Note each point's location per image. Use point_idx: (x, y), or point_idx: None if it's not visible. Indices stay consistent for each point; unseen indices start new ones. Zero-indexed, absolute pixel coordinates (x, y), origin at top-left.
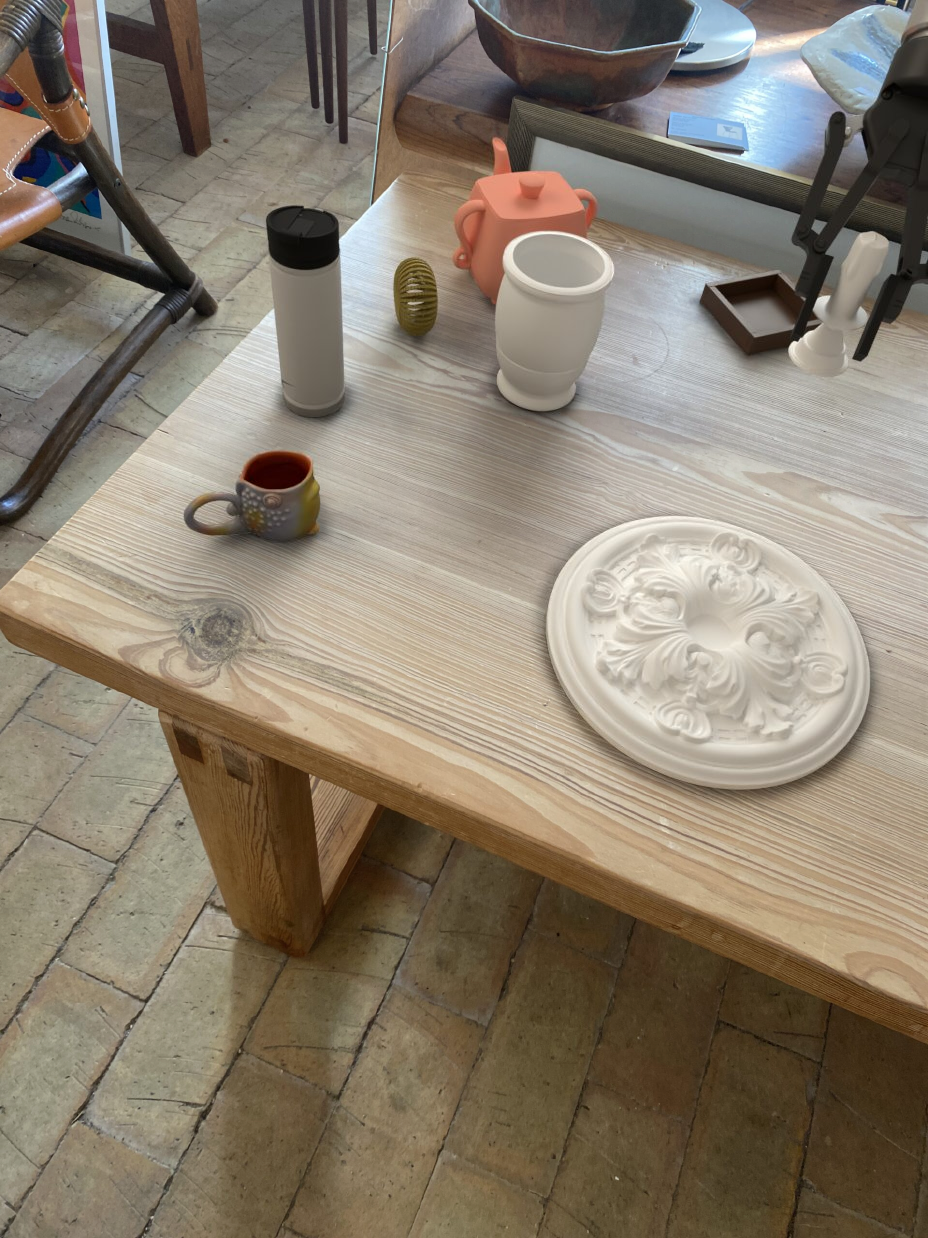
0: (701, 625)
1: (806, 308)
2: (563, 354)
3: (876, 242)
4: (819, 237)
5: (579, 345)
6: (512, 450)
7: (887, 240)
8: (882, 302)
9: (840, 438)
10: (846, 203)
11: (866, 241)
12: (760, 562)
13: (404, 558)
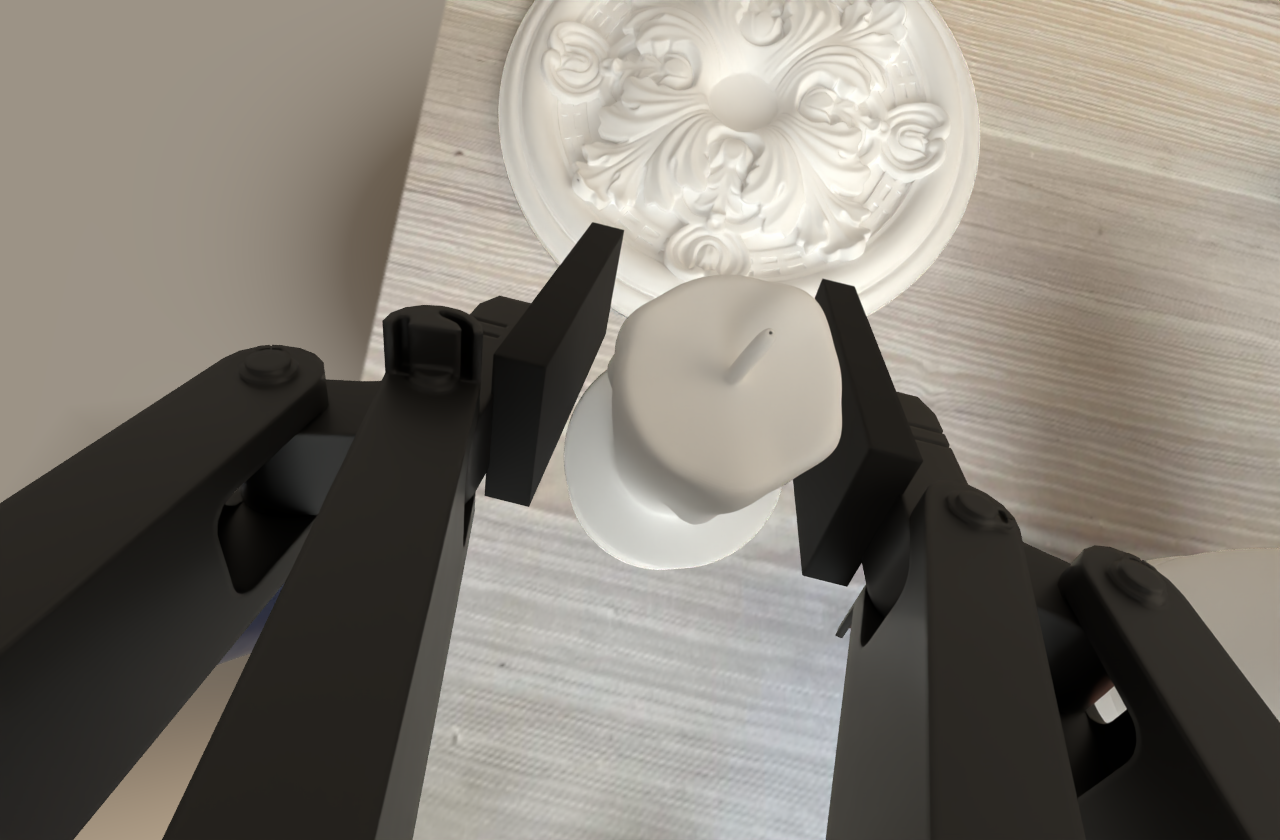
0: (756, 114)
1: (856, 323)
2: (1210, 558)
3: (725, 336)
4: (1007, 544)
5: (1198, 579)
6: (1105, 447)
7: (632, 398)
8: (569, 299)
9: (468, 651)
10: (1021, 775)
11: (803, 321)
12: (660, 256)
13: (1196, 178)
